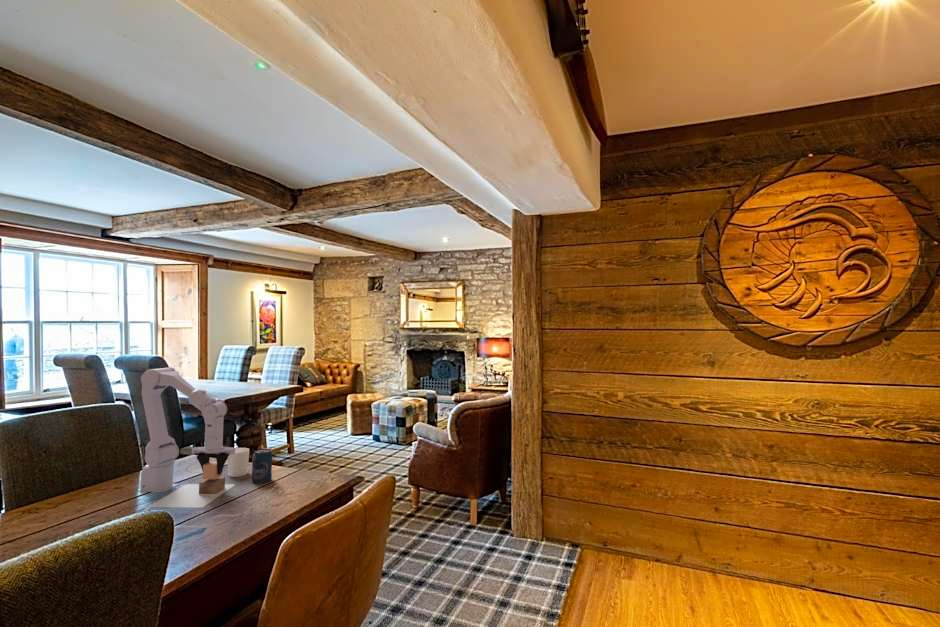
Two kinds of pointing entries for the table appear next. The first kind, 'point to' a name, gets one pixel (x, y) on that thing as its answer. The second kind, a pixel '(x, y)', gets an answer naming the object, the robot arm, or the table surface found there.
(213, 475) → the top block
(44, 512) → the table surface
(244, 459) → the white cup
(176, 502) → the white flat board
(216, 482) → the base block
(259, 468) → the soda can
